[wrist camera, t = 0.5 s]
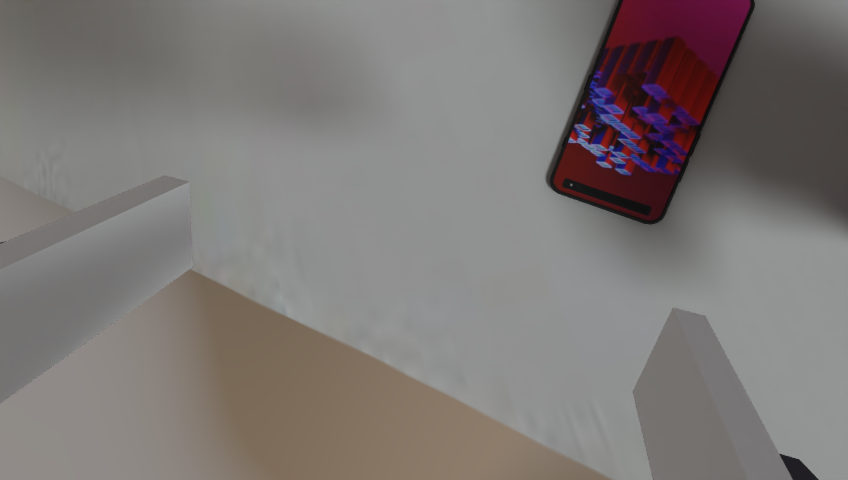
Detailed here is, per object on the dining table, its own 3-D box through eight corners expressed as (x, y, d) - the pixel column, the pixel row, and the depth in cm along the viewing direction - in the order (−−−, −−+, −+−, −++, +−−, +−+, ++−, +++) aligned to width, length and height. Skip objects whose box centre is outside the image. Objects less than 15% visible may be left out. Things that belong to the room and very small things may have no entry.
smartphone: (761, -7, 29) (660, 228, 32) (757, -1, 30) (658, 228, 33) (631, -34, 31) (545, 188, 34) (630, -28, 32) (546, 189, 35)
